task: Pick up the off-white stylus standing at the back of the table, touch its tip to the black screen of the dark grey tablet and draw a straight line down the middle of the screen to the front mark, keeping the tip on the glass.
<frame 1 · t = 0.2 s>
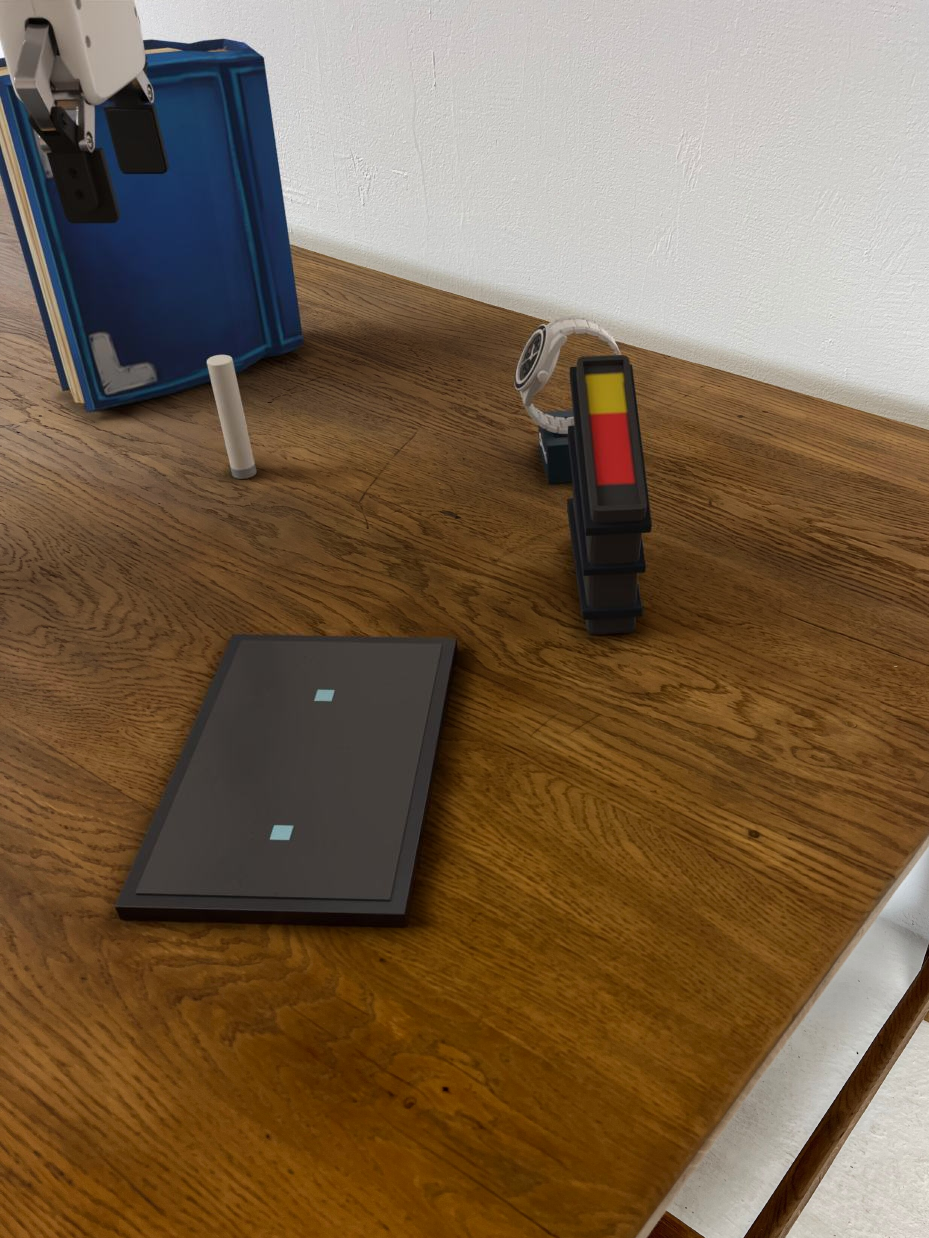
hand: (121, 195, 73), 21 cm above the table, tool pointing down, fingers open, 9 cm apart
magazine: (604, 600, 75), on the table
tablet: (309, 768, 63), on the table
watch: (570, 466, 89), on the table
stylus: (244, 473, 88), on the table
book: (195, 374, 102), on the table
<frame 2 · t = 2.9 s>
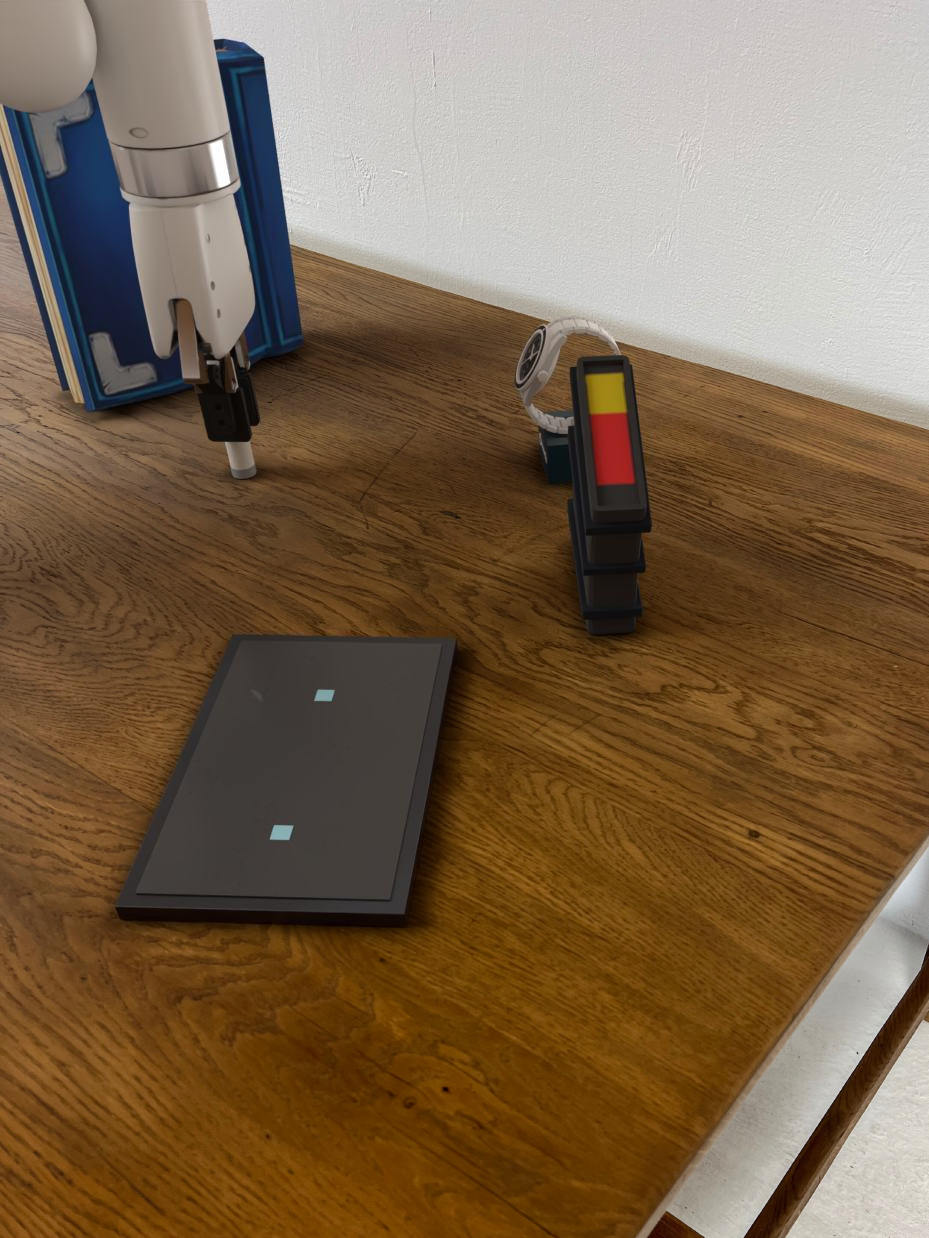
hand: (235, 430, 86), 4 cm above the table, tool pointing down, fingers closed on stylus, 1 cm apart
stylus: (244, 473, 88), on the table, touching gripper
everything else where it was.
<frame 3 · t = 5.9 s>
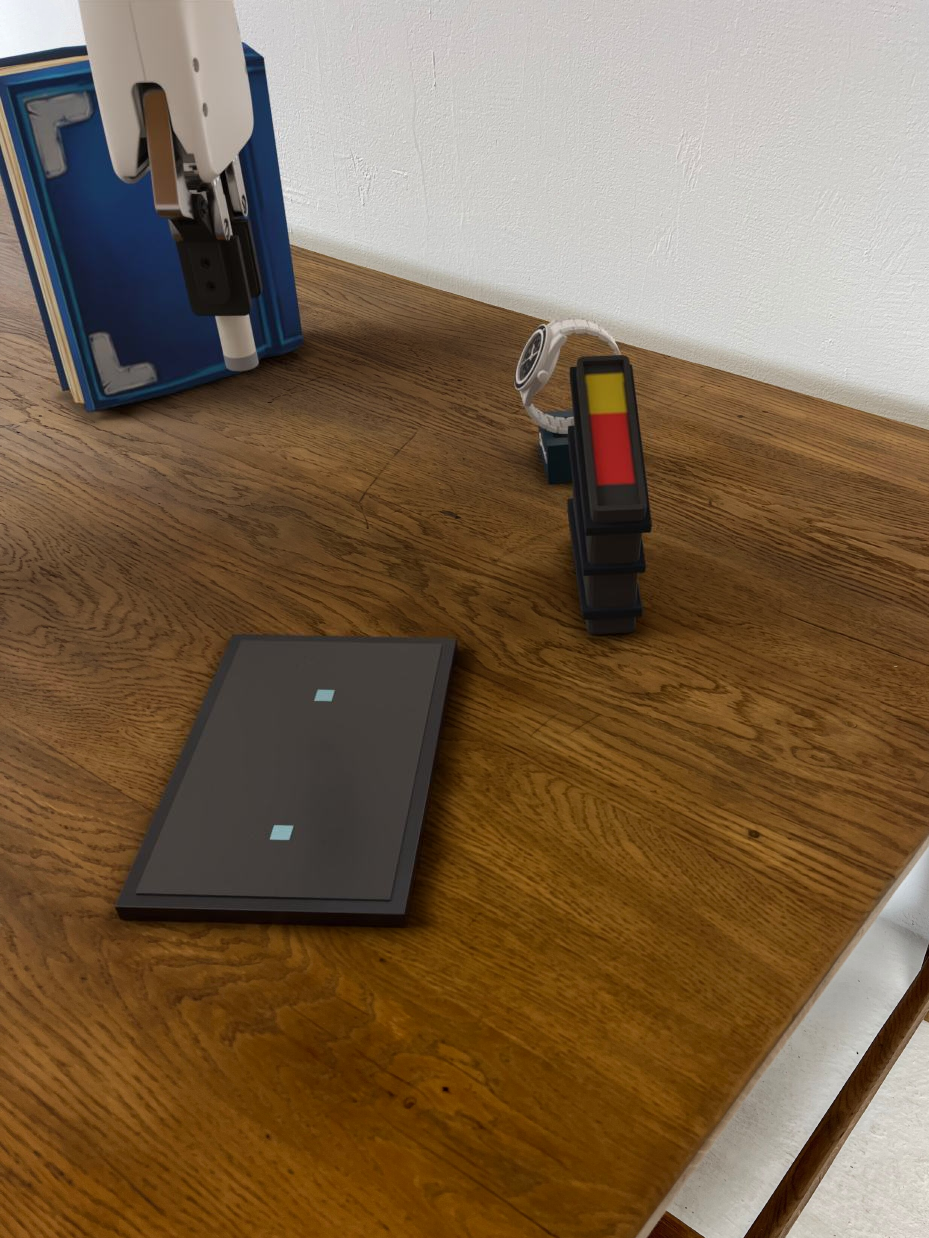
hand: (228, 302, 63), 19 cm above the table, tool pointing down, fingers closed on stylus
stylus: (242, 364, 65), point 16 cm above the table, touching gripper
everything else where it was.
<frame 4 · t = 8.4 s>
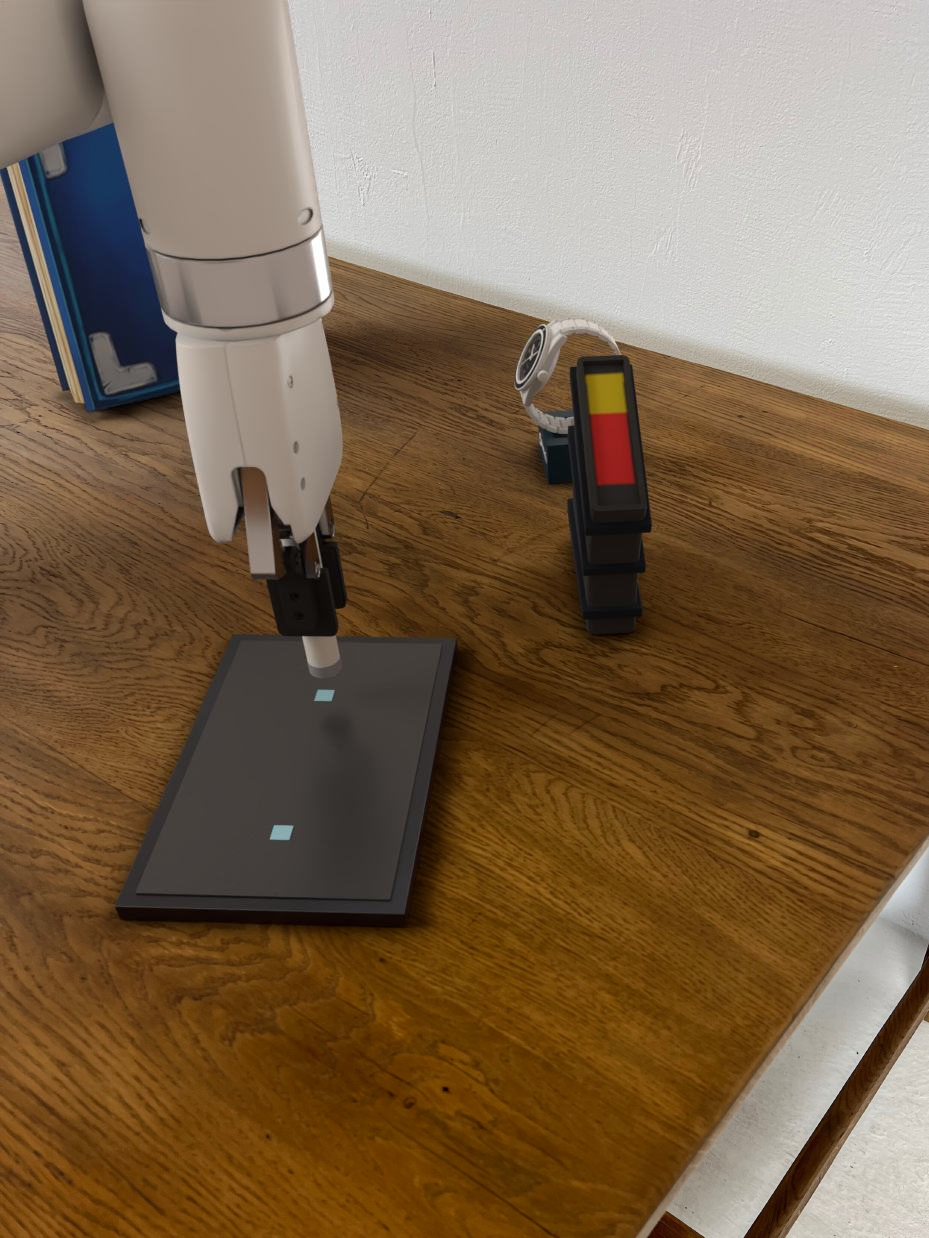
hand: (313, 617, 63), 7 cm above the table, tool pointing down, fingers closed on stylus, 1 cm apart
stylus: (325, 668, 65), point 3 cm above the table, touching gripper
everything else where it was.
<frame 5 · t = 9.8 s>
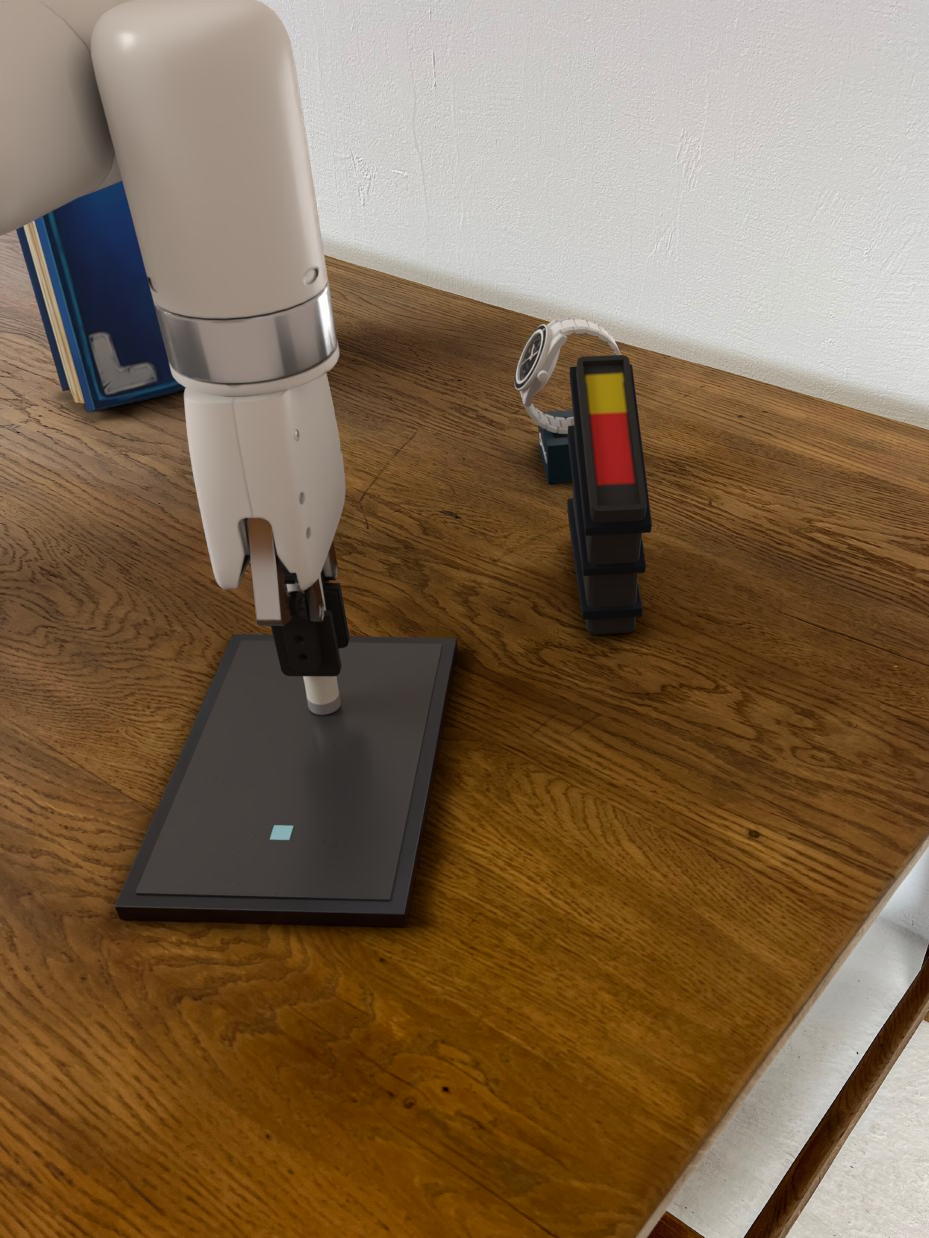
hand: (316, 657, 63), 5 cm above the table, tool pointing down, fingers closed on stylus, 1 cm apart
stylus: (324, 704, 66), point 1 cm above the table, touching gripper
everything else where it was.
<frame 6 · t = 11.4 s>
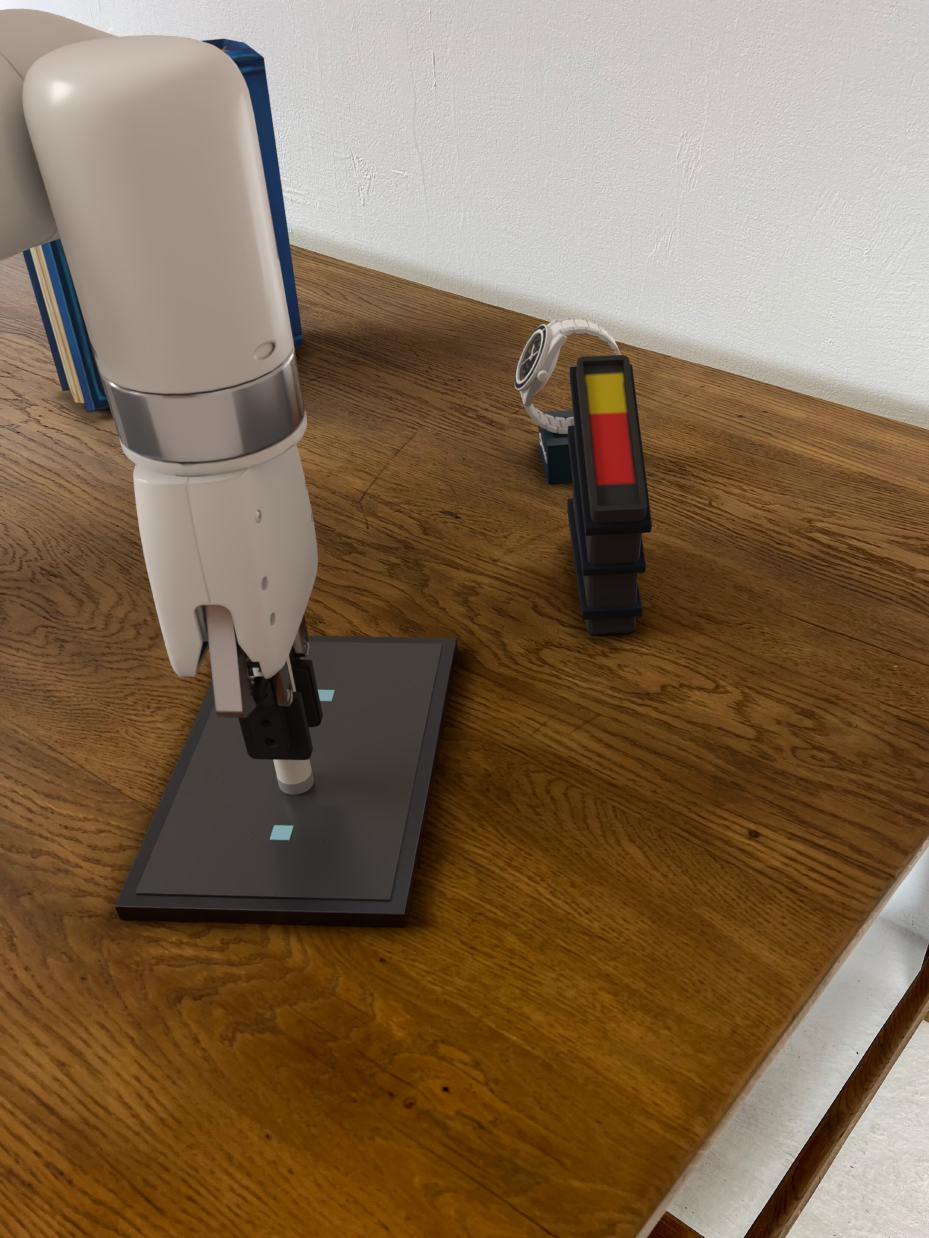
hand: (286, 737, 59), 4 cm above the table, tool pointing down, fingers closed on stylus, 1 cm apart
stylus: (296, 783, 61), point 1 cm above the table, touching gripper, tablet
everything else where it was.
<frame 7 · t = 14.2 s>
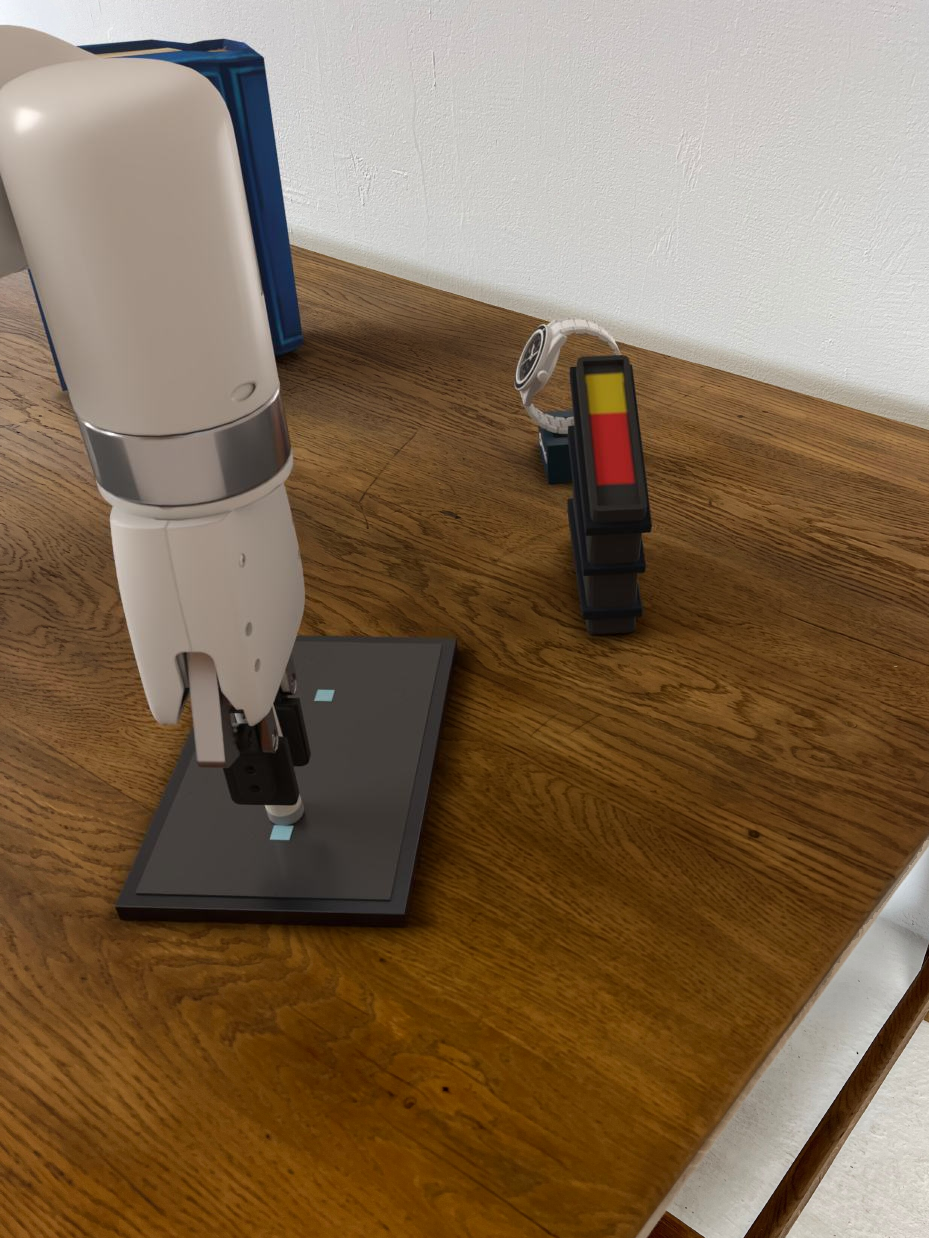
hand: (272, 779, 57), 4 cm above the table, tool pointing down, fingers closed on stylus, 2 cm apart
stylus: (286, 811, 59), point 1 cm above the table, tilted 8°, touching gripper, tablet
everything else where it was.
at the end: the gripper is holding stylus; stylus touching gripper, tablet; stylus 1.4 cm from the target spot on the tablet, point 1.2 cm above the tablet's base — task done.
